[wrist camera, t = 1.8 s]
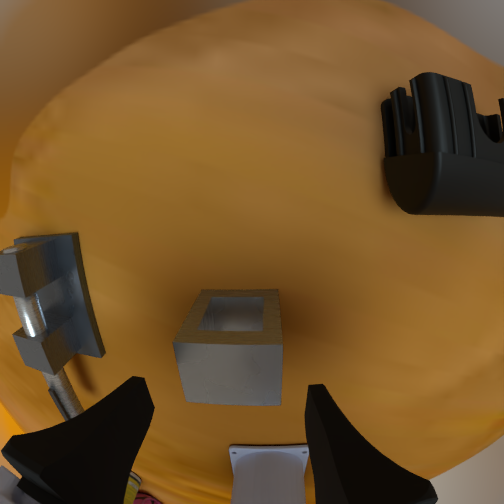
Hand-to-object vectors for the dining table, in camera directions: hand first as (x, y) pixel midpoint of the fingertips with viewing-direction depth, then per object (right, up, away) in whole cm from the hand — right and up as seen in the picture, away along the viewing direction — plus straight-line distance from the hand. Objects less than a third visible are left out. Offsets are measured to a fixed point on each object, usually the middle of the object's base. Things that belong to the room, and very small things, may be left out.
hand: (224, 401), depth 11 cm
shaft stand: (-15, 0, +9) cm, 18 cm away
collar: (0, +2, +8) cm, 8 cm away
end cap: (+14, +13, +4) cm, 20 cm away
